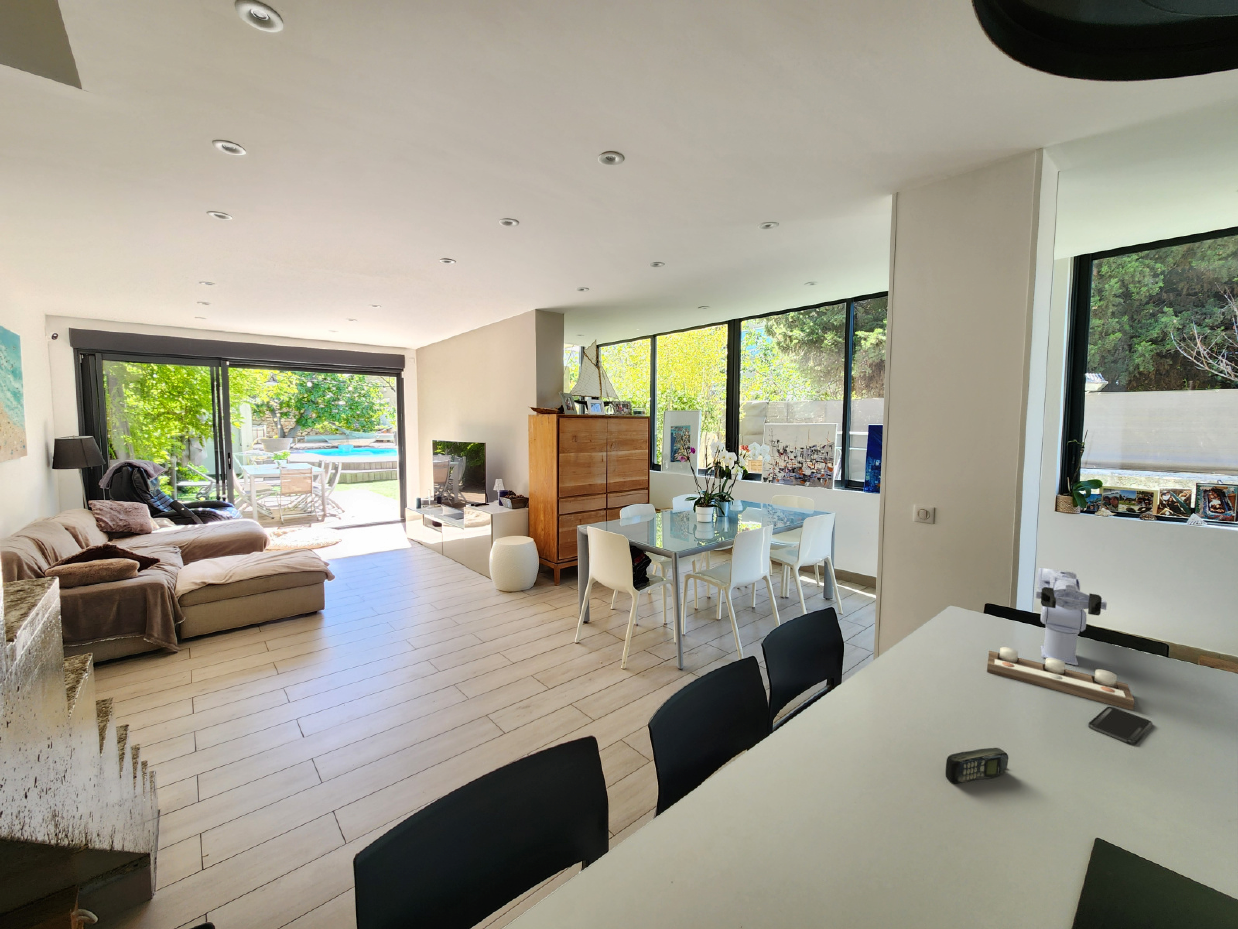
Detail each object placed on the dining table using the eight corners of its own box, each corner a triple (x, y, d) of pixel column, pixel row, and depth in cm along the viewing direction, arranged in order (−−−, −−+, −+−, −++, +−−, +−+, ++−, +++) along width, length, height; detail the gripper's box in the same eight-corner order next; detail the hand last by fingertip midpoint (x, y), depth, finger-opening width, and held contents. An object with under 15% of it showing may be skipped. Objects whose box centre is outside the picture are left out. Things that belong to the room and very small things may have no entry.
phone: (1086, 724, 116) (1108, 705, 124) (1086, 729, 116) (1108, 709, 124) (1134, 743, 110) (1154, 722, 117) (1133, 748, 110) (1154, 726, 118)
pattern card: (994, 659, 143) (994, 658, 143) (1123, 691, 127) (1123, 690, 127) (994, 664, 140) (994, 663, 140) (1125, 697, 124) (1125, 696, 124)
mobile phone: (956, 763, 96) (1017, 750, 100) (942, 753, 99) (1002, 740, 103) (954, 788, 97) (1015, 773, 100) (941, 777, 100) (1001, 763, 103)
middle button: (1044, 665, 140) (1045, 656, 140) (1063, 669, 138) (1064, 660, 138) (1045, 670, 137) (1046, 661, 137) (1064, 675, 135) (1065, 666, 134)
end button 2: (999, 654, 146) (1000, 645, 146) (1017, 658, 144) (1017, 650, 144) (999, 659, 143) (1000, 650, 143) (1017, 663, 141) (1018, 655, 141)
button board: (988, 658, 149) (989, 650, 149) (1126, 693, 131) (1127, 684, 131) (986, 672, 141) (987, 663, 141) (1133, 710, 123) (1134, 700, 123)
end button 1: (1093, 676, 134) (1094, 667, 134) (1114, 681, 132) (1115, 672, 131) (1095, 683, 131) (1096, 673, 131) (1116, 688, 129) (1118, 678, 128)
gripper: (1035, 576, 148) (1038, 587, 137) (1103, 586, 139) (1112, 598, 129) (1034, 599, 149) (1036, 612, 138) (1101, 610, 140) (1110, 625, 129)
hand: (1073, 607), depth 133 cm, fingers open, 7 cm apart
